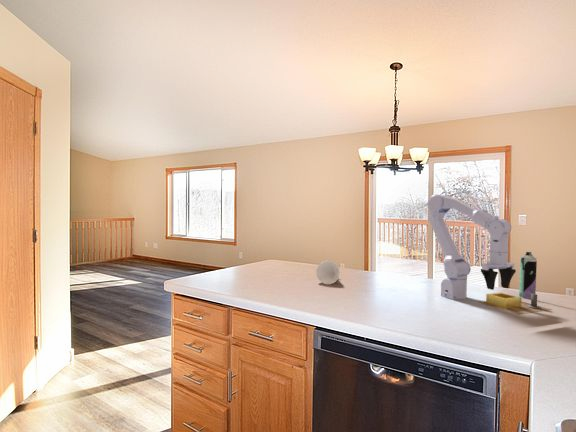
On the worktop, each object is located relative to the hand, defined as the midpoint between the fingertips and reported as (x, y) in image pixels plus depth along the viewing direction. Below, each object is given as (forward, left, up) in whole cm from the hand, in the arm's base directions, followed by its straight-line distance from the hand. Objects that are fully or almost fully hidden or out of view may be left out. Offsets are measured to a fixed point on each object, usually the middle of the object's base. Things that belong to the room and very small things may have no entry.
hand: (497, 288), depth 128 cm
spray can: (+24, +5, -8) cm, 26 cm away
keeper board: (+6, -2, -8) cm, 10 cm away
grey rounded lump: (-34, +62, -8) cm, 72 cm away
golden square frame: (+3, 0, -7) cm, 7 cm away
